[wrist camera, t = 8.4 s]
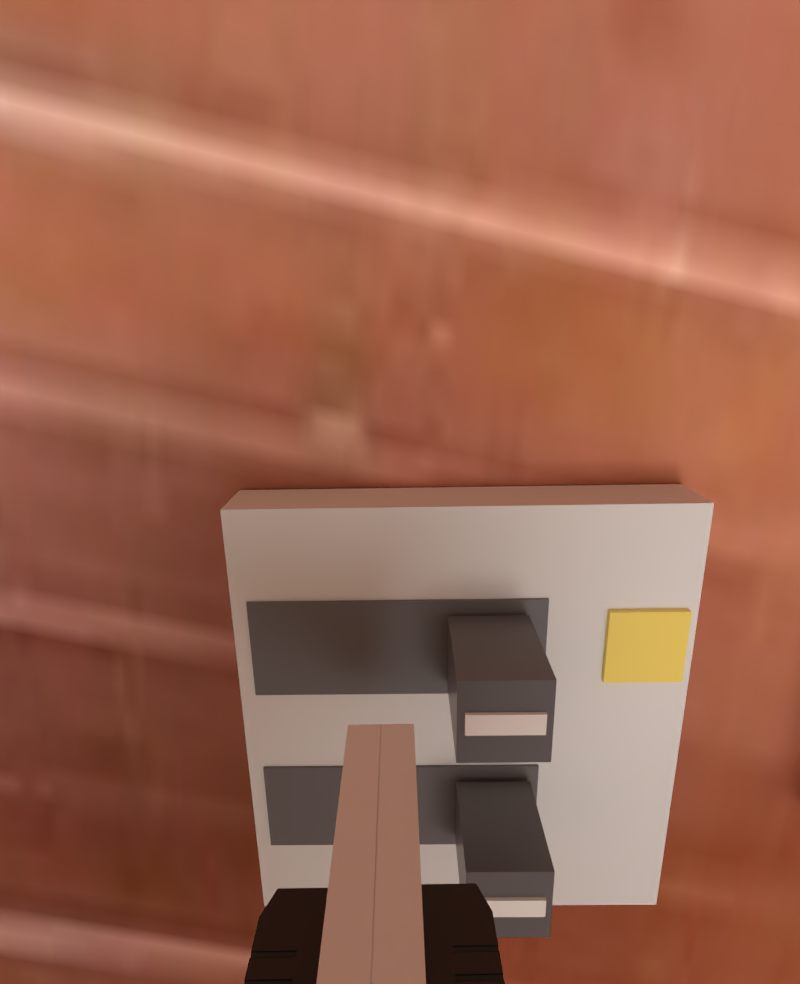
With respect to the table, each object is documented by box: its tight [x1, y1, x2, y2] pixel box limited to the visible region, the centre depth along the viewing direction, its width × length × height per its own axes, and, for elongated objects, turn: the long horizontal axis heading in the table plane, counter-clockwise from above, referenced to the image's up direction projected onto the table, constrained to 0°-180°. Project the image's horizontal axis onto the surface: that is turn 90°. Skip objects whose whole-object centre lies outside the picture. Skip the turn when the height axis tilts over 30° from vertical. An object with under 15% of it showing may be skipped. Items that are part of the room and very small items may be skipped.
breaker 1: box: [447, 615, 557, 763], centre depth 16 cm, size 2×2×3 cm
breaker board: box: [220, 484, 714, 906], centre depth 19 cm, size 14×15×2 cm
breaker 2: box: [455, 781, 555, 938], centre depth 17 cm, size 2×2×3 cm
